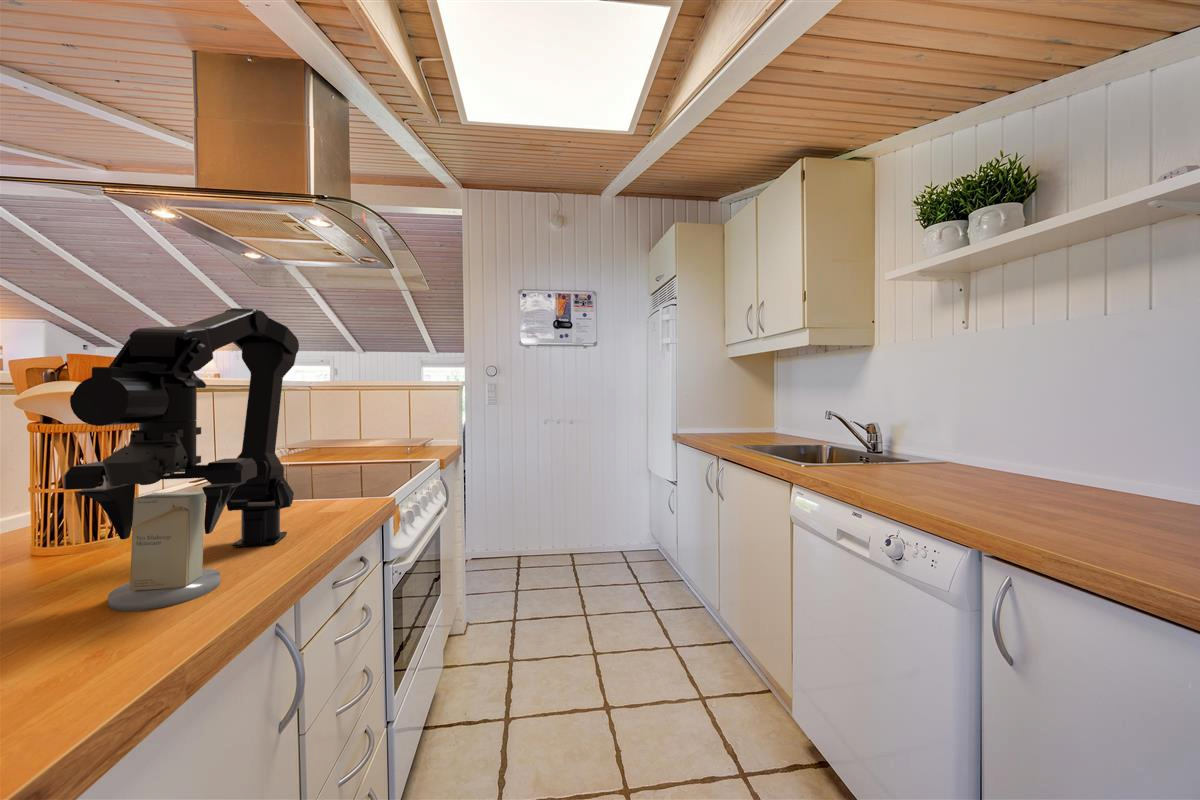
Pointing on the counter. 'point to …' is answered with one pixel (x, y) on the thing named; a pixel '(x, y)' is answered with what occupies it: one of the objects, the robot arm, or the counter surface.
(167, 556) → the skincare box
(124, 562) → the counter surface
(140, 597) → the coaster
